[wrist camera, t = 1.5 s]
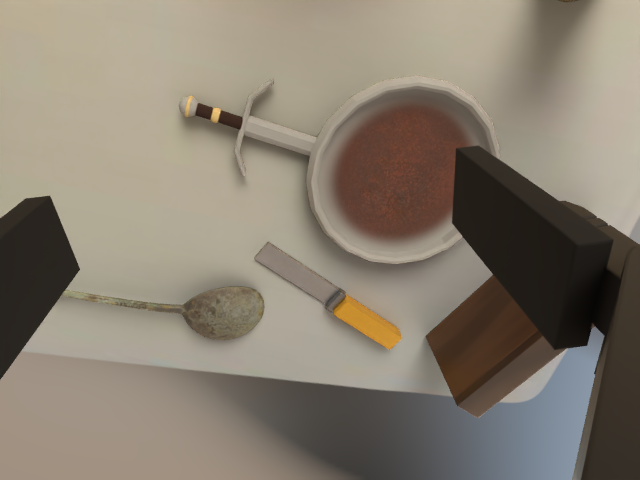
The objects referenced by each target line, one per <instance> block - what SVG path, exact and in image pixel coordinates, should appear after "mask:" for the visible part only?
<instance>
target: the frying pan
mask: <svg viewBox="0 0 640 480" xmlns="http://www.w3.org/2000/svg"><path fill="white" fill-rule="evenodd" d="M273 84H274V79H270V80H269V81H267V82H266V83H265V84H263V85H262V86H261V87H259V88H258V89H257V90H255V91H254V92H253V93H251V94H250V95H249V97H248V100H247V104H246V107H245V111H244V115H243V117H240V116H237V115H233V114H230V113H227V112H224V111H221V109H219V108H212V107H209V106H206V105H203V104H200V103H198V102H197V100H196V99H195V98H193V96H189V97H184V98H182V99H181V101H180V103H179V109H180V111H181V113H182V114H184V115H185V117H192V116H195V115H196V116H199V117H202V118H206V119H209V120H211V121H212V122H214V123H221V124H224V125H227V126H230V127H234V128H237V129H239V133H238V137H237V140H236V144H235V148H234V153H235V156H236V159H237V162H238V165H239V168H240V171H241V174H242V176H243V177H245V176H246V173H247V172H246V169H245V166H244V163H243V160H242V157H241V154H240V146H241V143H242V139H243V135H245V136H248V137H252V138H255V139H258V140H261V141H264V142H267V143H270V144H273V145H277V146H280V147H283V148H286V149H289V150H292V151H295V152H299V153H302V154H305V155H308V156H310V160H309V165H308V171H307V176H306V183H307V189H308V195H309V201H310V208H311V210H312V211H313V213H314V215H315V217H316V219H317V221H318V223H319V225H320V226H321V228H322V230H323V232H324V233H325V234H326V235H328V236H329V237H330V238H331V239H332V240H333V241H334V242H335V243H336V244H337V245H338V246H340V247H341V248H342V249H343V250H345V251H347V252H349V253H352V254H354V255H356V256H358V257H361V258H363V259H365V260H367V261H374V262H382V263H391V264H400V263H407V262H413V261H419V260H424V259H426V258H428V257H431V256H433V255H435V254H437V253H440V252H442V251H444V250H447V249H449V248H450V247H451V246H452V245H454V244H455V243H456V242H457V241H459V240H460V239H461V238H462V237H463V236H462V235H461V234H460V233H459V231H458V230H457V229H456V228H455V226H454V225H453V224H452V211H453V193H454V175H455V157H456V148H461V147H470V146H478V145H479V146H480V147H482V148H483V149H485V150H486V151H488V152H489V153H490V154H492V155H493V156H495V157H496V158H498V159H499V160H500V147H499V143H498V140H497V136H496V133H495V129H494V126H493V122H492V120H491V119H490V118H489V116H488V115H487V114H486V112H485V111H484V110H483V108H482V107H481V105H480V104H479V103H478V101H477V100H476V99H475V98H474V97H473V96H471V95H470V94H468V93H466V92H465V91H463V90H462V89H460V88H458V87H457V86H455V85H453V84H452V83H450V82H449V81H444V80H438V79H433V78H428V77H423V76H418V75H415V76H409V77H402V78H395V79H389V80H383V81H381V82H379V83H377V84H375V85H373V86H371V87H369V88H367V89H365V90H363V91H361V92H359V93H357V94H355V95H353V96H351V97H350V98H349V99H348V100H347V101H346V102H345V103H344V104H343V105H342V106H341V107H340V108H339V109H338V110H337V111H336V112H335V113H334V114H333V115H332V116H331V117H330V118H329V119H328V120H327V121H326V123H325V125H324V127H323V129H322V130H321V132H320V134H319V136H318V138H317V137H314V136H311V135H308V134H305V133H302V132H299V131H295V130H292V129H289V128H286V127H283V126H280V125H277V124H274V123H271V122H268V121H265V120H262V119H259V118H256V117H253V116H250V115H249V114H250V110H251V107H252V103H253V100H254V98H255V97H257V96H258V95H259V94H261V93H262V92H263V91H265V90H266V89H267V88H269V87H270V86H271V85H273Z"/></svg>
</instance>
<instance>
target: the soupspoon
mask: <svg viewBox="0 0 640 480" xmlns="http://www.w3.org/2000/svg"><path fill="white" fill-rule="evenodd" d="M62 295H63V296H67V297H72V298H77V299H82V300H87V301H92V302H99V303H105V304H112V305H118V306H125V307H132V308H138V309H144V310H150V311H159V312H169V313H179V314H182V315H183V317H184V319H185V320H186V322H187V324H188V325H189V326H190V327H191V328H192V329H193V330H195V331H196V332H197V333H199V334H200V335H202V336H204V337H207V338H210V339H217V340H226V339H232V338H236V337H239V336H241V335H243V334H245V333H247V332H248V331H250V330H251V329H252V328H253V327H254V326H255V325H256V324H257V323H258V322H259V320H260V319H261V317H262V315H263V310H264V302H263V298H262V296H261V295H260V293H259V292H257V291H256V290H254V289H251V288H247V287H223V288H218V289H214V290H210V291H207V292H204V293H202V294H200V295H198V296H196V297H193V298H192V299H190V300H189V301H187V302H186V303H185V304H184V305H170V304H158V303H148V302H140V301H133V300H126V299H119V298H112V297H105V296H99V295H93V294H87V293H81V292H75V291H69V290H65V291H64V292H63V294H62Z"/></svg>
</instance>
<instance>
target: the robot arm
mask: <svg viewBox="0 0 640 480" xmlns="http://www.w3.org/2000/svg"><path fill="white" fill-rule="evenodd" d="M452 224H453V225H454V226H455V228H456V229H457V230H458V231H459V233H460V234H461V235H462V236H463V238H464V239H465V240H466V241H467V243H468V244H469V245H470V246H471V247H472V249H473V250H474V251H475V252H476V254H477V255H478V256H479V257H480V259H481V260H482V261H483V262H484V264H485V265H486V266H487V267H488V268H489V270H490V271H491V272H492V273H493V275H494V276H495V277H496V278H497V280H498V281H499V282H500V283H501V285H502V286H503V287H504V288H505V290H506V291H507V292H508V293H509V294H510V296H511V297H512V298H513V299H514V301H515V302H516V303H517V304H518V306H519V307H520V308H521V309H522V311H523V312H524V313H525V314H526V315H527V317H528V318H529V319H530V320H531V322H532V323H533V324H534V325H535V327H536V328H537V329H538V330H539V332H540V333H541V334H542V335H543V336H544V338H545V339H546V340H547V341H548V343H549V344H550V345H551V346H552V348H553V349H554V350H558V349H566V348H573V347H580V346H587V344H588V340H589V336H590V332H591V328H592V324H594V325H595V326H596V327H597V328H598V330H599V331H600V332H601V333H603V334H604V336H605V337H604V340H603V344H602V347H601V351H600V355H599V359H598V362H597V366H596V369H595V373H594V374H595V378H594V383H593V387H592V392H591V397H590V401H589V406H588V410H587V415H586V419H585V424H584V428H583V433H582V438H581V442H580V447H579V451H578V455H577V460H576V464H575V469H574V473H573V478H572V480H640V245H639V244H638V243H636V242H634V241H633V240H632V239H630V238H629V237H627V236H626V235H624V234H623V233H621V232H620V231H618V230H617V229H615V228H614V227H612V226H611V225H609V226H608V225H607V223H606V222H604V221H603V220H601V219H600V218H597V216H595V215H594V214H592V213H591V212H589V211H588V210H586V209H585V208H583V207H581V206H578V205H575V204H572V203H569V202H567V201H558V200H556V199H555V198H554V197H552V196H551V195H549V194H548V193H546V192H545V191H544V190H542V189H541V188H539V187H538V186H536V185H535V184H533V183H532V182H531V181H529V180H528V179H526V178H525V177H523V176H522V175H521V174H519V173H518V172H516V171H515V170H513V169H512V168H510V167H509V166H508V165H506V164H505V163H503V162H502V161H500V160H499V159H498V158H496V157H495V156H493V155H492V154H490V153H489V152H488V151H486V150H485V149H483V148H482V147H480V146H479V145H478V146H470V147H461V148H456V157H455V175H454V193H453V211H452ZM79 270H80V268H79V266H78V263H77V261H76V258H75V256H74V253H73V251H72V248H71V246H70V243H69V241H68V239H67V236H66V234H65V231H64V229H63V226H62V224H61V221H60V219H59V216H58V214H57V212H56V209H55V207H54V204H53V202H52V199H51V197H50V196H44V197H35V198H27V199H24V200H23V201H22V202H21V203H19V204H18V205H17V206H16V207H14V208H13V209H12V210H11V211H9V212H8V213H7V214H6V215H4V216H3V217H2V218H1V219H0V379H1V378H2V377H3V375H4V374H5V372H6V371H7V370H8V368H9V367H10V366H11V364H12V363H13V361H14V360H15V359H16V357H17V356H18V354H19V353H20V352H21V350H22V349H23V348H24V346H25V345H26V343H27V342H28V341H29V339H30V338H31V336H32V335H33V334H34V332H35V331H36V330H37V328H38V327H39V325H40V324H41V323H42V321H43V320H44V318H45V317H46V316H47V314H48V313H49V312H50V310H51V309H52V307H53V306H54V305H55V303H56V302H57V300H58V299H59V298H60V296H61V295H62V294H63V292H64V291H65V289H66V288H67V287H68V285H69V284H70V282H71V281H72V280H73V278H74V277H75V276H76V274H77V273H78V271H79Z"/></svg>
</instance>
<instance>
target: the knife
mask: <svg viewBox="0 0 640 480" xmlns="http://www.w3.org/2000/svg"><path fill="white" fill-rule="evenodd" d="M254 259H255V260H257V261H258V262H260V263H261V264H263V265H265V266H266V267H268V268H269V269H271V270H272V271H274V272H276V273H277V274H279V275H280V276H282V277H284V278H285V279H287V280H288V281H290V282H291V283H293V284H295V285H296V286H298V287H299V288H301V289H303V290H304V291H306V292H307V293H309V294H310V295H312V296H314V297H315V298H317V299H318V300H320V301H321V302H323V303H325V305H326V309H327V310H329V311H330V312H332V311H333V313H334V315H335V316H336V317H338V318H340V319H341V320H343V321H344V322H346V323H348V324H349V325H351V326H352V327H354V328H356V329H357V330H359V331H360V332H362V333H364V334H365V335H367V336H368V337H370V338H372V339H373V340H375V341H376V342H378V343H379V344H381V345H383V346H384V347H386V348H387V349H389V350H390V349H391V348H392V347H393V346H394V345H396V344H397V343H398V342H399V341H400V340H401V339H402V336H401V333H400V331H399V329H398V328H397V327H395V326H394V325H392V324H391V323H389V322H388V321H386V320H384V319H383V318H381V317H380V316H378V315H377V314H375V313H374V312H372V311H371V310H369V309H368V308H366V307H365V306H363V305H362V304H360V303H359V302H357V301H356V300H354V299H353V298H351V297H349V296H348V295H346V293H345V291H343V290H342V289H339V288H338V287H336V286H335V285H333V284H332V283H330V282H329V281H327V280H325V279H324V278H322V277H321V276H319V275H318V274H316V273H315V272H313V271H312V270H310V269H309V268H307V267H306V266H304V265H303V264H301V263H300V262H298V261H297V260H295V259H294V258H292V257H291V256H289V255H287V254H286V253H284V252H283V251H281V250H280V249H278V248H277V247H275V246H274V245H272V244H271V243H269V242H267V244H266V245H265V246H264V247H263V248H262V249H261V251H260V252H259V253H258V254H257V255H256V256H255V258H254Z"/></svg>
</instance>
